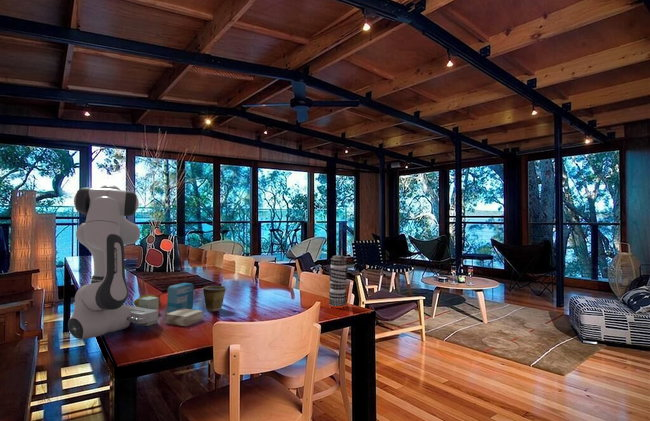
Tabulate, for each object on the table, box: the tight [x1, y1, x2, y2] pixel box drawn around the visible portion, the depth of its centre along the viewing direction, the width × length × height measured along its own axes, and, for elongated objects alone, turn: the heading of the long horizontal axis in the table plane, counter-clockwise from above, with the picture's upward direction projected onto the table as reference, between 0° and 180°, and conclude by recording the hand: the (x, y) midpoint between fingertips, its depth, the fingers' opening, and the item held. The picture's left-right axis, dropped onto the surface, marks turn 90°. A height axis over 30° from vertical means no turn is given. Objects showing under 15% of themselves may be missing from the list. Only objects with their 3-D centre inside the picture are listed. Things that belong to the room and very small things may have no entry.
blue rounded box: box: [166, 282, 195, 314], centre depth 165 cm, size 12×4×12 cm, turn 162°
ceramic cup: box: [202, 285, 226, 312], centre depth 171 cm, size 13×10×10 cm
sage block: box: [137, 296, 160, 327], centre depth 145 cm, size 5×5×10 cm
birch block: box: [165, 308, 204, 327], centre depth 149 cm, size 10×10×4 cm
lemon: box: [133, 294, 160, 308], centre depth 160 cm, size 11×8×8 cm
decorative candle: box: [328, 254, 348, 306], centre depth 182 cm, size 9×9×25 cm
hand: (150, 308), depth 146 cm, fingers closed on sage block, 5 cm apart
